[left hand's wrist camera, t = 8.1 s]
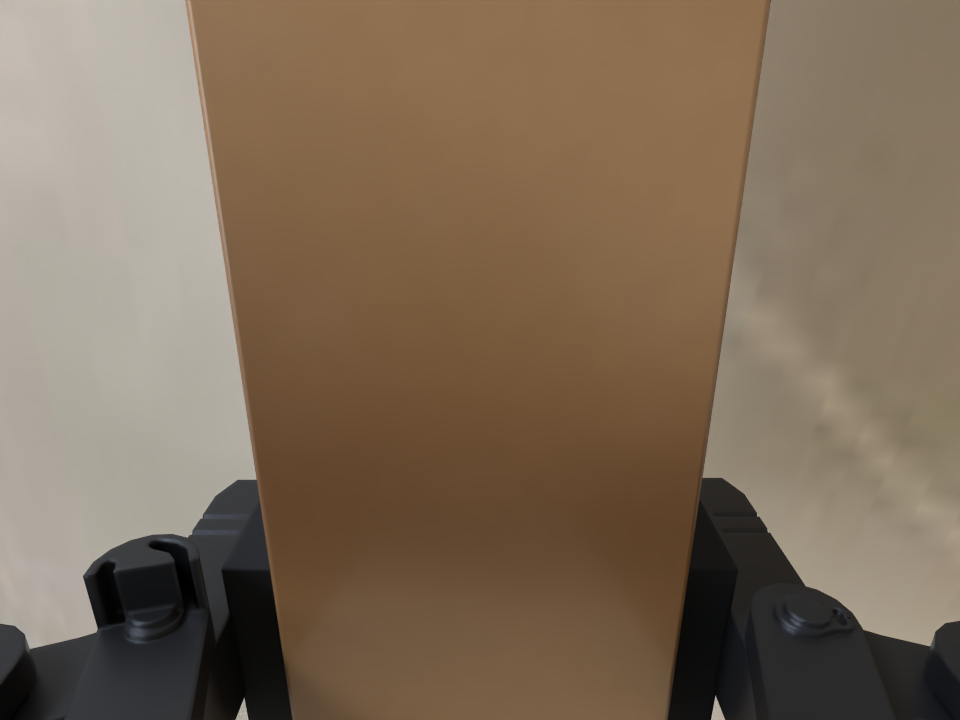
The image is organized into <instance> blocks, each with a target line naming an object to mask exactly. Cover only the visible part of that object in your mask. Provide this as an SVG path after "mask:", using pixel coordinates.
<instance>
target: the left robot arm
mask: <svg viewBox="0 0 960 720" xmlns="http://www.w3.org/2000/svg"><path fill="white" fill-rule="evenodd" d="M83 578H84V581H85V585H86V588H87V592H88V595H89V599H90V602H91V606H92V609H93V613H94V617H95V620H96V624H97V627H98V630H97V633H93V634H90V635H87V636H83V637H80V638H76V639H72V640H68V641H63V642H59V643H55V644H50V645H46V646H42V647H38V648H33V649H29V646H28V643H27V640H26V637H25V634H24V633H22V632H21V631H20V630H19V629H18V628H16V627H15V626H11V625H5V624H0V720H235V719H236V717H237V714H238V712H239V709H240V707H241V704H242V702H243V699H244V697H245V703H246V708H247V714H248V719H249V720H292V713H291V706H290V700H289V693H288V686H287V679H286V673H285V666H284V659H283V652H282V646H281V639H280V632H279V626H278V619H277V612H276V605H275V599H274V592H273V585H272V579H271V572H270V565H269V558H268V552H267V545H266V538H265V531H264V525H263V518H262V511H261V505H260V498H259V491H258V484H257V480H237V481H236V482H234V483H233V484H232V485H230V486H229V487H227V488H226V489H225V490H223V491H222V492H221V493H219V494H218V495H217V496H215V498H214V499H213V501H212V502H211V504H210V505H209V507H208V508H207V510H206V511H205V513H204V514H203V519H200V520H199V522H198V523H197V525H196V526H195V528H194V529H193V533H192V535H190V536H189V537H188V538H186V537H182V536H178V535H174V534H163V535H150V536H146V537H142V538H138V539H134V540H131V541H128V542H126V543H124V544H122V545H120V546H117V547H115V548H113V549H111V550H109V551H108V552H107V553H105V554H104V555H103V556H101V557H100V558H98V559H97V560H96V561H94V562H93V563H92V565H91V566H90V568H89V569H88V570H87V572H86V573H85V574H84V576H83ZM715 695H716V697H717V700H718V702H719V705H720V707H721V710H722V712H723V715H724V718H725V720H960V621H957V622H951V623H945V624H944V625H943V626H942V627H941V628H939V629H938V630H937V631H936V632H935V635H934V638H933V641H932V644H931V647H930V646H925V645H921V644H917V643H912V642H908V641H904V640H899V639H895V638H891V637H886V636H882V635H878V634H875V633H872V632H869V631H865V630H863V629H862V627H861V625H860V624H859V622H858V621H857V619H856V618H855V616H854V614H853V613H852V612H851V611H849V610H848V609H847V608H846V607H845V606H843V605H842V604H841V603H840V602H839V601H838V600H836V599H834V598H832V597H830V596H828V595H826V594H824V593H822V592H821V591H819V590H816V589H813V588H809V587H806V586H805V585H804V583H803V582H802V580H801V579H800V577H799V576H798V574H797V573H796V571H795V570H794V568H793V567H792V565H791V564H790V562H789V561H788V559H787V558H786V556H785V555H784V553H783V552H782V550H781V549H780V547H779V546H778V544H777V543H776V541H775V540H774V538H773V537H772V535H771V534H770V533H768V532H767V528H766V526H765V525H764V523H763V522H762V520H761V519H760V517H757V513H756V511H755V510H754V508H753V507H752V505H751V504H750V502H749V501H748V499H747V498H746V496H745V495H744V494H743V493H742V492H741V491H739V490H738V489H736V488H735V487H734V486H732V485H731V484H729V483H728V482H727V481H725V480H724V479H723V478H702V483H701V490H700V497H699V504H698V511H697V518H696V525H695V532H694V539H693V546H692V553H691V560H690V567H689V574H688V581H687V588H686V595H685V602H684V609H683V616H682V623H681V630H680V637H679V644H678V651H677V658H676V665H675V672H674V679H673V686H672V693H671V700H670V707H669V714H668V720H711V716H712V711H713V705H714V700H715Z"/></svg>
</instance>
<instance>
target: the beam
mask: <svg viewBox="0 0 960 720" xmlns="http://www.w3.org/2000/svg"><path fill="white" fill-rule="evenodd" d="M185 1H186V7H187V14H188V21H189V27H190V34H191V41H192V48H193V54H194V61H195V68H196V74H197V81H198V88H199V95H200V101H201V108H202V115H203V121H204V128H205V135H206V142H207V148H208V155H209V162H210V169H211V175H212V182H213V189H214V195H215V202H216V209H217V216H218V222H219V229H220V236H221V242H222V249H223V256H224V263H225V269H226V276H227V283H228V290H229V296H230V303H231V310H232V316H233V323H234V330H235V337H236V343H237V350H238V357H239V363H240V370H241V377H242V384H243V390H244V397H245V404H246V411H247V417H248V424H249V431H250V437H251V444H252V451H253V458H254V464H255V471H256V478H257V484H258V491H259V498H260V505H261V511H262V518H263V525H264V531H265V538H266V545H267V552H268V558H269V565H270V572H271V579H272V585H273V592H274V599H275V605H276V612H277V619H278V626H279V632H280V639H281V646H282V652H283V659H284V666H285V673H286V679H287V686H288V693H289V700H290V706H291V713H292V720H668V714H669V707H670V700H671V693H672V686H673V679H674V672H675V665H676V658H677V651H678V644H679V637H680V630H681V623H682V616H683V609H684V602H685V595H686V588H687V581H688V574H689V567H690V560H691V553H692V546H693V539H694V532H695V525H696V518H697V511H698V504H699V497H700V490H701V483H702V476H703V469H704V463H705V456H706V449H707V442H708V435H709V428H710V421H711V414H712V407H713V400H714V393H715V386H716V379H717V372H718V365H719V358H720V351H721V344H722V337H723V330H724V323H725V316H726V309H727V302H728V295H729V288H730V281H731V274H732V267H733V260H734V253H735V246H736V239H737V232H738V225H739V218H740V211H741V204H742V197H743V190H744V183H745V176H746V169H747V162H748V156H749V149H750V142H751V135H752V128H753V121H754V114H755V107H756V100H757V93H758V86H759V79H760V72H761V65H762V58H763V51H764V44H765V37H766V30H767V23H768V16H769V9H770V2H771V0H185Z"/></svg>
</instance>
